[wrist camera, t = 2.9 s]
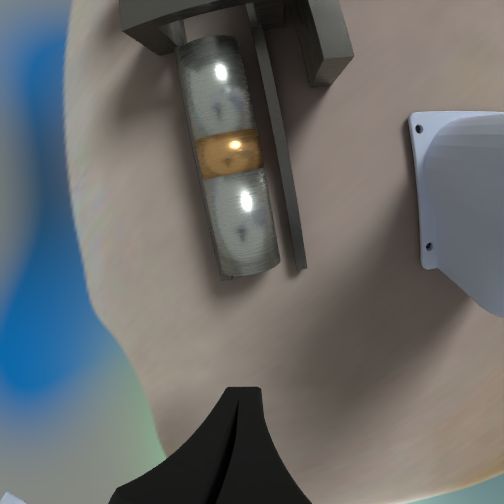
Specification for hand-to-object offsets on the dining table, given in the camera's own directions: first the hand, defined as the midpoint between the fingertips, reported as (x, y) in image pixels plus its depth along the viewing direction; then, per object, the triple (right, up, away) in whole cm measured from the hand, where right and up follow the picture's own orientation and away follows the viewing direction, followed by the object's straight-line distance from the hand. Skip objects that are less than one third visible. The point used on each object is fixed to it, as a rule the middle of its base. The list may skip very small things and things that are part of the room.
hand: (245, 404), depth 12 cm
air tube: (0, +12, +5) cm, 13 cm away
